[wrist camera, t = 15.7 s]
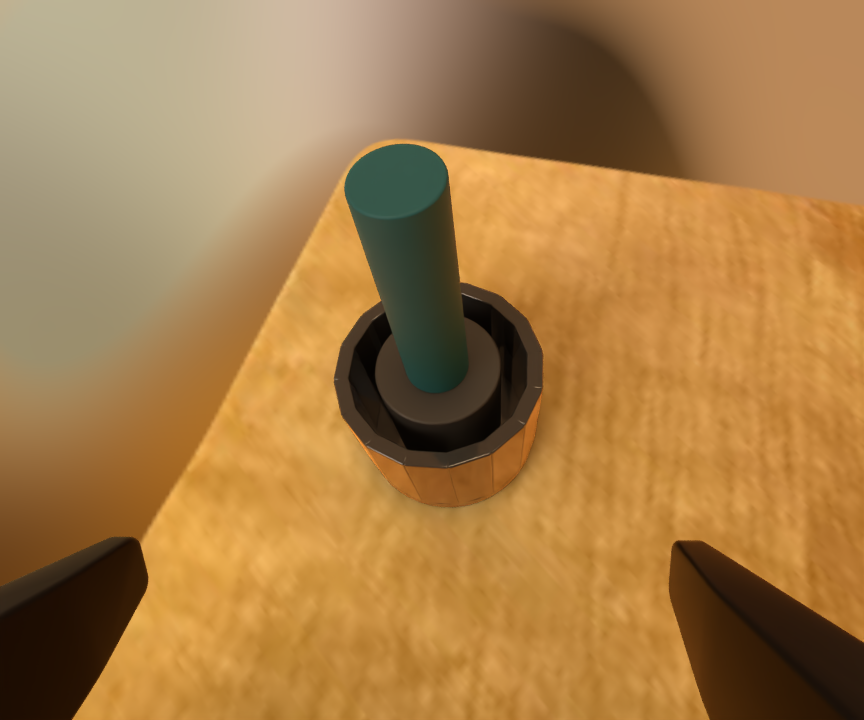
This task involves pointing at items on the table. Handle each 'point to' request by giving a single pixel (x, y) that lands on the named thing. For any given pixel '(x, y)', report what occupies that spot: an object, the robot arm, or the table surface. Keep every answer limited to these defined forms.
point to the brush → (423, 302)
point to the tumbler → (464, 467)
